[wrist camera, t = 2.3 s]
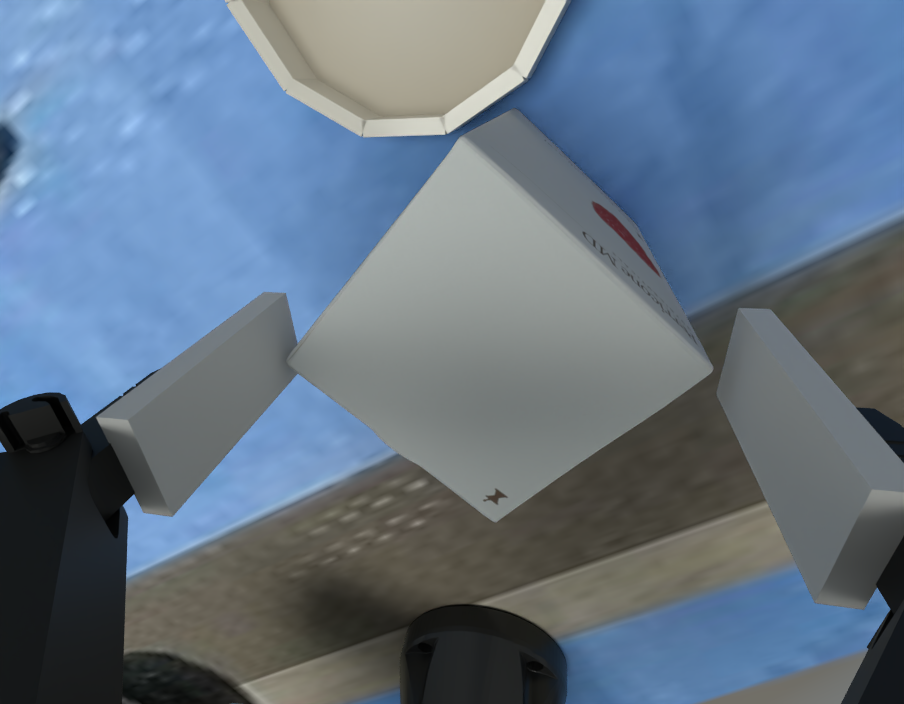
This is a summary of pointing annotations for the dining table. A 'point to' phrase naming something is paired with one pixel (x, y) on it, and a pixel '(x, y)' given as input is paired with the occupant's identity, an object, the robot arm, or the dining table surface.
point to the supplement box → (504, 323)
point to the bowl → (400, 56)
